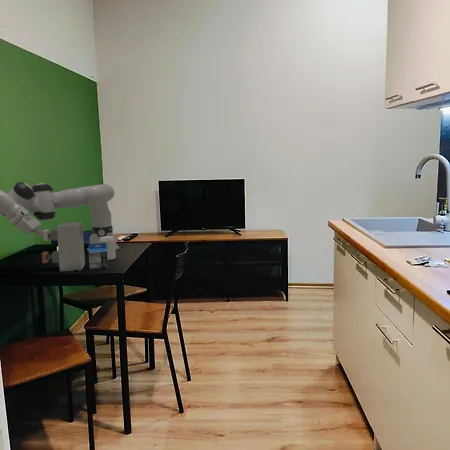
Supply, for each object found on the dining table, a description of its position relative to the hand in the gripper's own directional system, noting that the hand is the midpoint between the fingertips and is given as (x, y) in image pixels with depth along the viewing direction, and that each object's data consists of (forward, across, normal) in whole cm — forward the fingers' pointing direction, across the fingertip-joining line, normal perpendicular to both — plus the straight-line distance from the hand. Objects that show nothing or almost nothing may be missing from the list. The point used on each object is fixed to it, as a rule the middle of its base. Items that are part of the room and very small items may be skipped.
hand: (42, 235), depth 228 cm
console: (+20, 0, -4) cm, 20 cm away
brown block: (+11, 0, -8) cm, 13 cm away
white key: (+4, 0, +1) cm, 4 cm away
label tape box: (+31, +4, +6) cm, 32 cm away
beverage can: (+33, -17, +9) cm, 38 cm away
